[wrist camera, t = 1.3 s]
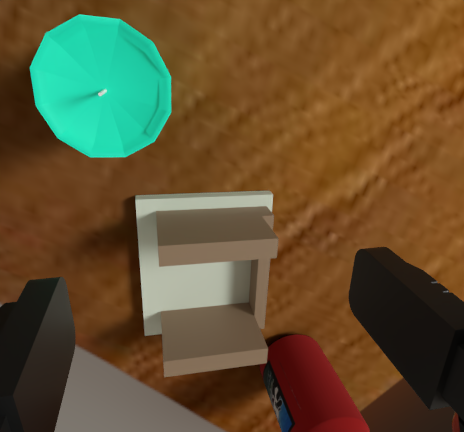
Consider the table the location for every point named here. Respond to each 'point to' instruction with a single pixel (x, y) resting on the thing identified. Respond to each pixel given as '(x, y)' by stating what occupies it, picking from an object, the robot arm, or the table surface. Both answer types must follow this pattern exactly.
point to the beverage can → (307, 389)
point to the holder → (206, 276)
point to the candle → (101, 86)
